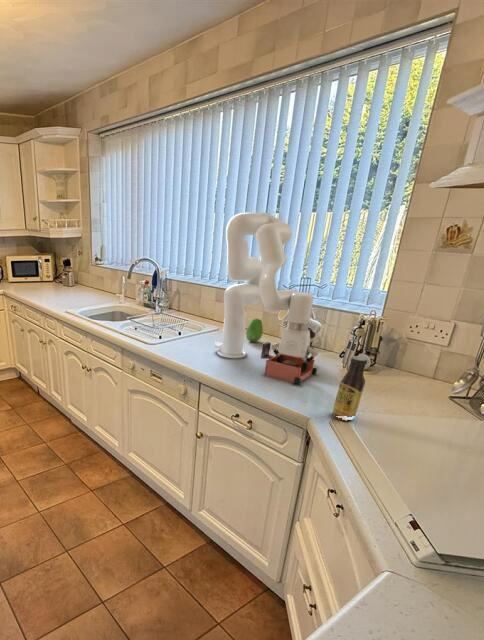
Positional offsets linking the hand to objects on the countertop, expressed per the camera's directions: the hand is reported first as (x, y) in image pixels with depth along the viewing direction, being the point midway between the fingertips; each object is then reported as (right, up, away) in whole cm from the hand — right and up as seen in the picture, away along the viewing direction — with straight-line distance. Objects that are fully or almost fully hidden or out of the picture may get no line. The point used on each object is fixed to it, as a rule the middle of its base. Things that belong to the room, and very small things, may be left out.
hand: (290, 369), depth 154 cm
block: (0, -2, +1) cm, 2 cm away
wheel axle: (+4, -4, -3) cm, 7 cm away
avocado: (+2, +16, +45) cm, 48 cm away
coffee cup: (+10, +3, +16) cm, 19 cm away
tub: (-2, -2, +3) cm, 4 cm away
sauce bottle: (+2, -17, -32) cm, 36 cm away
